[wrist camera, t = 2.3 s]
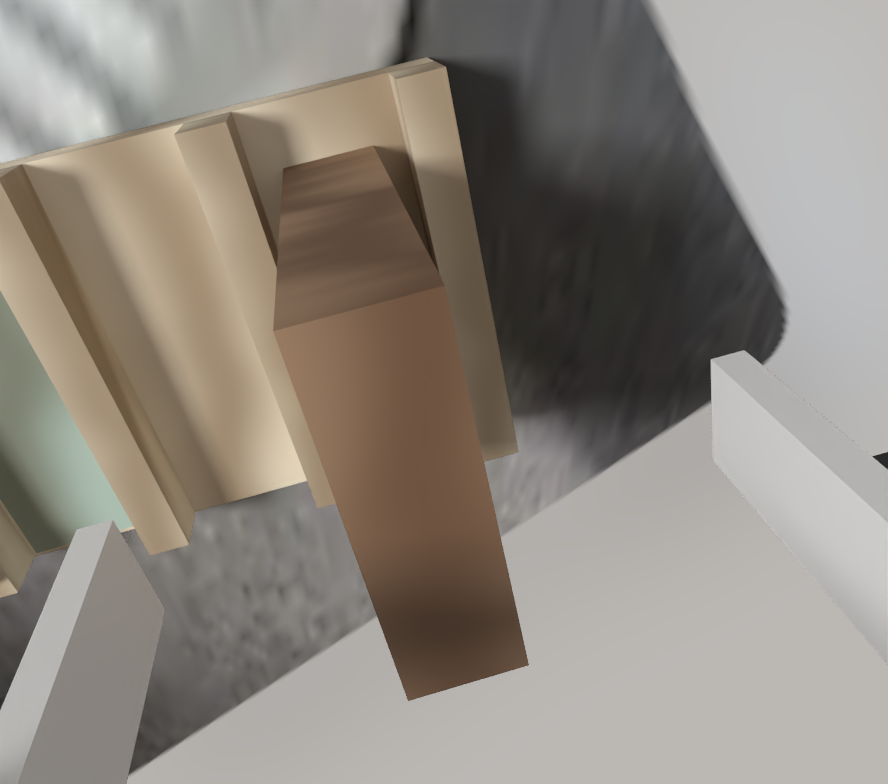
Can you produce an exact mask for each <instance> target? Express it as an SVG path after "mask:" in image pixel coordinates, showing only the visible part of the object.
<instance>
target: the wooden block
mask: <svg viewBox="0 0 888 784" xmlns="http://www.w3.org/2000/svg"><path fill="white" fill-rule="evenodd" d="M273 333H274V335H275V338H276V341H277V344H278V346H279V349H280V352H281V354H282V357H283V360H284V363H285V365H286V368H287V371H288V374H289V376H290V379H291V382H292V384H293V387H294V390H295V393H296V395H297V398H298V401H299V404H300V406H301V409H302V412H303V415H304V417H305V420H306V423H307V425H308V428H309V431H310V434H311V436H312V439H313V442H314V445H315V447H316V450H317V453H318V456H319V458H320V461H321V464H322V466H323V469H324V472H325V475H326V477H327V480H328V483H329V486H330V488H331V491H332V494H333V497H334V499H335V502H336V505H337V507H338V510H339V513H340V516H341V518H342V521H343V524H344V527H345V529H346V532H347V535H348V537H349V540H350V543H351V546H352V548H353V551H354V554H355V557H356V559H357V562H358V565H359V568H360V570H361V573H362V576H363V578H364V581H365V584H366V587H367V589H368V592H369V595H370V598H371V600H372V603H373V606H374V609H375V611H376V614H377V617H378V619H379V622H380V625H381V628H382V630H383V633H384V636H385V639H386V641H387V644H388V647H389V649H390V652H391V655H392V658H393V660H394V663H395V666H396V669H397V671H398V674H399V677H400V679H401V682H402V685H403V688H404V690H405V693H406V696H407V699H408V701H409V700H413V699H416V698H419V697H423V696H426V695H429V694H433V693H436V692H440V691H443V690H447V689H450V688H453V687H457V686H460V685H463V684H467V683H470V682H473V681H477V680H480V679H484V678H487V677H490V676H494V675H497V674H500V673H504V672H507V671H510V670H514V669H517V668H521V667H524V666H527V665H529V664H528V659H527V655H526V651H525V646H524V641H523V637H522V632H521V628H520V623H519V619H518V614H517V610H516V606H515V601H514V596H513V592H512V587H511V582H510V578H509V573H508V569H507V564H506V560H505V556H504V552H503V546H502V542H501V537H500V533H499V528H498V524H497V519H496V515H495V510H494V506H493V501H492V497H491V492H490V487H489V483H488V478H487V474H486V469H485V465H484V460H483V456H482V451H481V447H480V442H479V438H478V433H477V429H476V424H475V420H474V415H473V411H472V406H471V402H470V397H469V392H468V388H467V383H466V379H465V374H464V370H463V365H462V361H461V356H460V352H459V347H458V343H457V338H456V334H455V329H454V325H453V320H452V316H451V311H450V307H449V302H448V298H447V293H446V288H445V285H444V283H443V281H442V279H441V277H440V275H439V273H438V271H437V269H436V267H435V265H434V263H433V261H432V259H431V257H430V255H429V254H428V252H427V250H426V248H425V246H424V244H423V242H422V240H421V238H420V236H419V234H418V232H417V230H416V228H415V226H414V224H413V222H412V220H411V218H410V216H409V214H408V212H407V210H406V209H405V207H404V205H403V203H402V201H401V199H400V197H399V195H398V193H397V191H396V189H395V187H394V185H393V183H392V181H391V179H390V177H389V175H388V173H387V171H386V169H385V167H384V165H383V164H382V162H381V160H380V158H379V156H378V154H377V152H376V150H375V148H374V146H369V147H365V148H361V149H357V150H353V151H349V152H345V153H341V154H337V155H333V156H329V157H326V158H322V159H318V160H314V161H310V162H306V163H302V164H298V165H294V166H290V167H286V168H283V181H282V197H281V212H280V228H279V244H278V260H277V276H276V292H275V308H274V324H273Z"/></svg>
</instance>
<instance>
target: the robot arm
mask: <svg viewBox="0 0 888 784" xmlns="http://www.w3.org/2000/svg"><path fill="white" fill-rule="evenodd" d="M711 405H712V460H713V461H714V462H715V464H717V466H718V467H719V468H720V469H721V471H722V472H723V473H724V474H725V475H726V476H727V477H728V479H729V480H730V481H731V482H732V483H733V485H734V486H735V487H736V488H737V489H738V490H739V492H740V493H741V494H742V495H743V496H744V497H745V499H746V500H747V501H748V502H749V503H750V504H751V506H752V507H753V508H754V509H755V510H756V512H757V513H758V514H759V515H760V516H761V517H762V518H763V520H764V521H765V522H766V523H767V524H768V525H769V527H770V528H771V529H772V530H773V531H774V533H775V534H776V535H777V536H778V537H779V538H780V539H781V541H782V542H783V543H784V544H785V545H786V547H788V549H789V550H790V551H791V552H792V553H793V555H794V556H795V557H796V558H797V559H798V560H799V562H800V563H801V564H802V565H803V566H804V568H805V569H806V570H807V571H808V572H809V573H810V575H811V576H812V577H813V578H814V579H815V580H816V582H818V584H819V585H820V586H821V587H822V588H823V590H824V591H825V592H826V593H827V594H828V596H829V597H830V598H831V599H832V600H833V601H834V602H835V604H836V605H837V606H838V607H839V608H840V610H841V611H842V612H843V613H844V614H845V615H846V617H847V618H848V619H849V620H850V621H851V623H852V624H853V625H854V626H855V627H856V628H857V630H858V631H859V632H860V633H861V634H862V635H863V637H864V638H865V639H866V640H867V641H868V642H869V644H871V646H872V647H873V648H874V649H875V651H876V652H877V653H878V654H879V655H880V656H881V658H882V659H883V660H884V661H885V662H886V663H887V664H888V452H887V453H883V454H880V455H876V456H871V455H869V454H868V453H867V452H866V451H865V450H864V449H862V448H861V447H860V446H859V445H858V444H856V443H855V442H854V441H853V440H852V439H850V438H849V437H848V436H847V435H845V434H844V433H843V432H842V431H841V430H840V429H838V428H837V427H836V426H835V425H834V424H832V423H831V422H830V421H829V420H827V419H826V418H825V417H824V416H823V415H822V414H820V413H819V412H818V411H817V410H816V409H814V408H813V407H812V406H811V405H810V404H808V403H807V402H806V401H805V400H804V399H802V398H801V397H800V396H799V395H798V394H796V393H795V392H794V391H793V390H792V389H790V388H789V387H788V386H787V385H786V384H784V383H783V382H782V381H781V380H780V379H778V378H777V377H776V376H775V375H773V374H772V373H771V372H770V371H769V370H768V369H766V368H765V367H764V366H763V365H762V364H760V363H759V362H758V361H757V360H756V359H754V358H753V357H752V356H751V355H750V354H748V353H747V352H746V351H745V350H743V351H740V352H736V353H732V354H728V355H725V356H721V357H717V358H714V359H711ZM164 614H165V608H164V607H163V605H162V603H161V601H160V600H159V598H158V596H157V595H156V593H155V591H154V589H153V588H152V586H151V584H150V583H149V581H148V579H147V577H146V576H145V574H144V572H143V571H142V569H141V567H140V565H139V564H138V562H137V560H136V559H135V557H134V555H133V553H132V552H131V550H130V548H129V547H128V545H127V543H126V541H125V540H124V538H123V536H122V535H121V533H120V531H119V529H118V528H117V526H116V524H115V523H114V521H113V520H110V521H106V522H103V523H99V524H95V525H91V526H88V527H84V528H80V529H77V530H76V532H75V535H74V537H73V539H72V542H71V544H70V546H69V549H68V551H67V554H66V556H65V558H64V561H63V563H62V565H61V568H60V570H59V573H58V575H57V577H56V580H55V582H54V584H53V587H52V589H51V591H50V594H49V596H48V599H47V601H46V603H45V606H44V608H43V610H42V613H41V615H40V618H39V620H38V622H37V625H36V627H35V629H34V632H33V634H32V636H31V639H30V641H29V644H28V646H27V648H26V651H25V653H24V655H23V658H22V660H21V663H20V665H19V667H18V670H17V672H16V674H15V677H14V679H13V681H12V684H11V686H10V689H9V691H8V693H7V696H6V698H4V699H0V784H126V783H127V778H128V774H129V769H130V765H131V760H132V756H133V751H134V747H135V743H136V738H137V734H138V729H139V725H140V720H141V716H142V712H143V707H144V703H145V698H146V694H147V689H148V685H149V681H150V676H151V672H152V667H153V663H154V658H155V654H156V650H157V645H158V641H159V636H160V632H161V627H162V623H163V618H164Z"/></svg>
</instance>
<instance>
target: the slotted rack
mask: <svg viewBox="0 0 888 784" xmlns="http://www.w3.org/2000/svg"><path fill="white" fill-rule="evenodd" d="M369 146H374V148H375V150H376V152H377V154H378V156H379V158H380V160H381V162H382V164H383V165H384V167H385V169H386V171H387V173H388V175H389V177H390V179H391V181H392V183H393V185H394V187H395V189H396V191H397V193H398V195H399V197H400V199H401V201H402V203H403V205H404V207H405V209H406V210H407V212H408V214H409V216H410V218H411V220H412V222H413V224H414V226H415V228H416V230H417V232H418V234H419V236H420V238H421V240H422V242H423V244H424V246H425V248H426V250H427V252H428V254H429V255H430V257H431V259H432V261H433V263H434V265H435V267H436V269H437V271H438V273H439V275H440V277H441V279H442V281H443V283H444V285H445V288H446V293H447V298H448V302H449V307H450V311H451V316H452V320H453V325H454V329H455V334H456V338H457V343H458V347H459V352H460V356H461V361H462V365H463V370H464V374H465V379H466V383H467V388H468V392H469V397H470V402H471V406H472V411H473V415H474V420H475V424H476V429H477V433H478V438H479V442H480V447H481V451H482V456H483V460H484V462H485V461H489V460H493V459H496V458H500V457H503V456H507V455H510V454H514V453H517V452H519V451H518V446H517V441H516V435H515V430H514V425H513V420H512V414H511V409H510V404H509V398H508V393H507V388H506V382H505V377H504V372H503V367H502V361H501V356H500V351H499V345H498V340H497V335H496V329H495V324H494V319H493V314H492V308H491V303H490V298H489V292H488V287H487V282H486V276H485V271H484V266H483V260H482V255H481V250H480V245H479V239H478V234H477V229H476V223H475V218H474V213H473V207H472V202H471V197H470V192H469V186H468V181H467V176H466V170H465V165H464V160H463V154H462V149H461V144H460V139H459V133H458V128H457V123H456V117H455V112H454V107H453V101H452V96H451V91H450V85H449V80H448V75H447V70H446V67H445V66H443V65H441V64H439V63H437V62H435V61H433V60H431V59H429V58H427V57H426V58H422V59H418V60H414V61H410V62H406V63H402V64H398V65H394V66H390V67H386V68H382V69H378V70H374V71H370V72H366V73H362V74H358V75H354V76H350V77H346V78H342V79H338V80H334V81H330V82H326V83H322V84H318V85H314V86H310V87H305V88H301V89H297V90H293V91H289V92H285V93H281V94H277V95H273V96H269V97H265V98H261V99H257V100H253V101H249V102H245V103H241V104H237V105H233V106H229V107H225V108H221V109H217V110H213V111H209V112H205V113H201V114H197V115H193V116H189V117H185V118H181V119H177V120H173V121H169V122H165V123H161V124H157V125H153V126H149V127H145V128H141V129H137V130H133V131H129V132H125V133H121V134H117V135H113V136H109V137H105V138H101V139H97V140H93V141H89V142H85V143H81V144H77V145H73V146H69V147H64V148H60V149H56V150H52V151H48V152H44V153H40V154H36V155H32V156H28V157H24V158H20V159H16V160H12V161H8V162H4V163H0V598H1V597H5V596H8V595H12V594H15V593H18V592H19V590H20V588H21V585H22V583H23V581H24V579H25V577H26V575H27V572H28V570H29V568H30V566H31V564H32V561H33V559H34V557H35V556H39V555H42V554H46V553H49V552H53V551H57V550H60V549H64V548H67V547H69V546H70V544H71V542H72V539H73V537H74V535H75V532H76V530H77V529H80V528H84V527H88V526H91V525H95V524H99V523H103V522H106V521H110V520H113V521H114V523H115V524H116V526H117V528H118V529H119V531H120V533H121V532H125V531H128V530H132V529H135V530H136V532H137V533H138V535H139V537H140V539H141V540H142V542H143V544H144V546H145V547H146V549H147V551H148V553H149V555H150V556H151V555H154V554H158V553H161V552H165V551H168V550H172V549H176V548H179V547H183V546H186V545H189V543H190V538H191V532H192V527H193V522H194V517H195V512H197V511H200V510H204V509H207V508H211V507H215V506H218V505H222V504H225V503H229V502H233V501H236V500H240V499H243V498H247V497H251V496H254V495H258V494H261V493H265V492H268V491H272V490H276V489H279V488H283V487H286V486H290V485H294V484H297V483H301V482H304V481H307V482H308V484H309V487H310V489H311V492H312V495H313V497H314V500H315V502H316V505H317V508H322V507H325V506H329V505H332V504H336V502H335V499H334V497H333V494H332V491H331V488H330V486H329V483H328V480H327V477H326V475H325V472H324V469H323V466H322V464H321V461H320V458H319V456H318V453H317V450H316V447H315V445H314V442H313V439H312V436H311V434H310V431H309V428H308V425H307V423H306V420H305V417H304V415H303V412H302V409H301V406H300V404H299V401H298V398H297V395H296V393H295V390H294V387H293V384H292V382H291V379H290V376H289V374H288V371H287V368H286V365H285V363H284V360H283V357H282V354H281V352H280V349H279V346H278V344H277V341H276V338H275V335H274V333H273V324H274V308H275V292H276V276H277V260H278V244H279V228H280V212H281V197H282V181H283V168H286V167H290V166H294V165H298V164H302V163H306V162H310V161H314V160H318V159H322V158H326V157H329V156H333V155H337V154H341V153H345V152H349V151H353V150H357V149H361V148H365V147H369Z"/></svg>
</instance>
